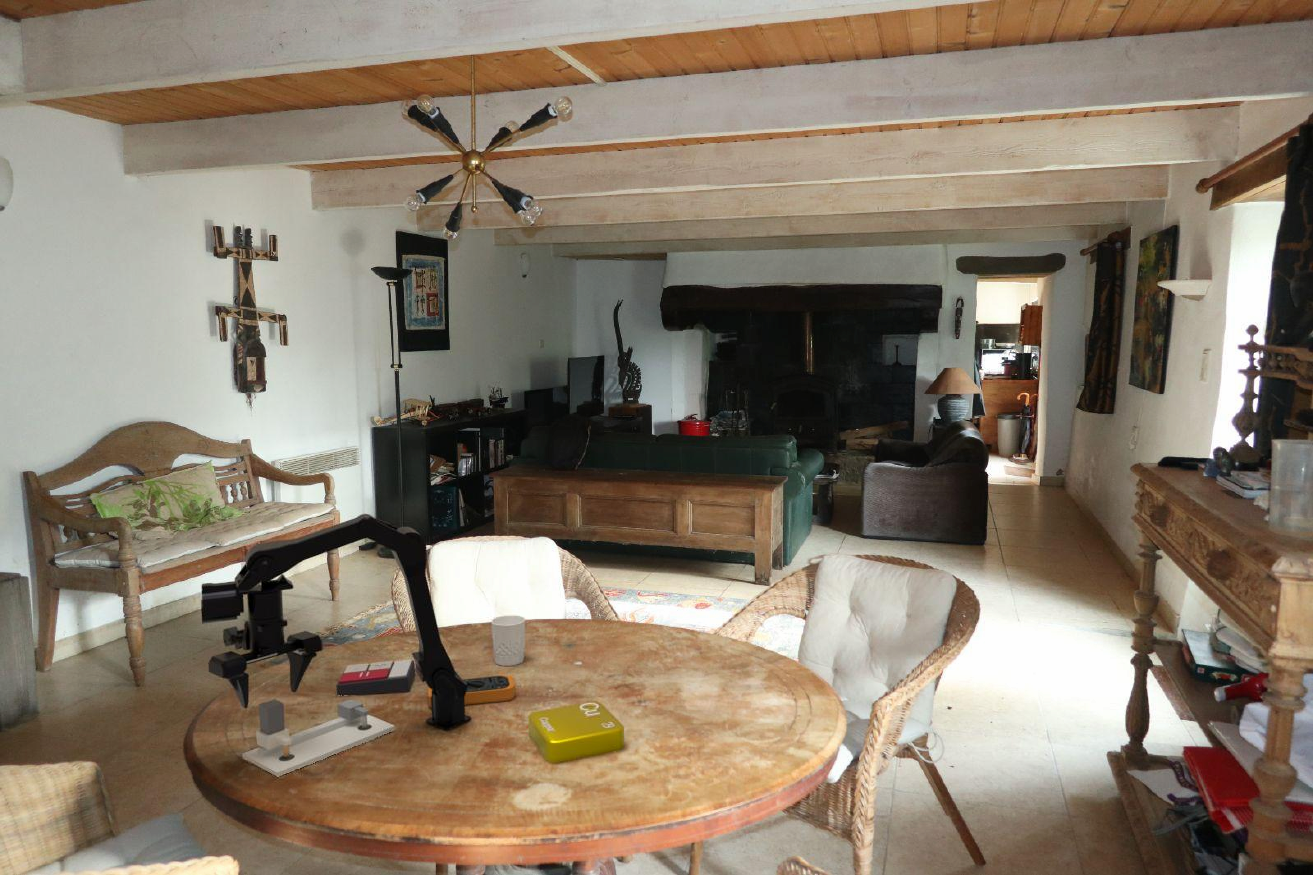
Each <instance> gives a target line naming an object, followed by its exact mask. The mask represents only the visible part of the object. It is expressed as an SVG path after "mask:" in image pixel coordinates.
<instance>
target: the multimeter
mask: <svg viewBox="0 0 1313 875" xmlns="http://www.w3.org/2000/svg"><path fill="white" fill-rule="evenodd" d="M462 680H463V681H464V682H465V683H466V685H467V686H468V688H467V691H466V694H465V696H464V697H465V706H470V705H477V704H478V705H479V704H486V703H487V704H488V703H499V702H508V701H512V699H514V698H515V696H516V693H517V692H516V690H517V689H516V683H515V679H514V677H513V676H512V675H508V674H497V675H491V676H480V677H471V678H462ZM426 685H427V684H426ZM426 688H427V704H428V707H429V708H430V709H431V696H432V691H431V690H432V689H430V688H429V687H428V685H427V687H426Z"/></svg>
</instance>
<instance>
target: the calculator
mask: <svg viewBox="0 0 1313 875" xmlns="http://www.w3.org/2000/svg"><path fill="white" fill-rule="evenodd" d="M415 668H416V664H415V660H414V659H413V660H412V659H403V660H395V661H394V662H393V660H385V661H377V662H371V663H359V664H358V663H357V664H350V665H347V667H346V668H345V669H344V671H343V672H342V674H341V675H340V677H339V679H338V681H337V683H336V696H337V695H340V697H345V696H344V695H356V696H369V695H378V694H386V693H387V694H401V693H410V692H411V688H412V686H413V683H414V680H415V677H416V671H415ZM341 695H342V696H341Z"/></svg>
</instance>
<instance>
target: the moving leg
mask: <svg viewBox="0 0 1313 875" xmlns="http://www.w3.org/2000/svg"><path fill="white" fill-rule="evenodd" d="M258 712H259V714H258V716H259V730H256V731H255V736H256V744H257V745H258V746H259V747H264V748H266V749H268V750H270V749H272V748H275V747H278V746H280V745H283V752H284V757H288V756H290V749H289V745H290V744H292V739H290V738H289V736H290V729H289V728H286V727H285V708H284V702H283V701H280V700H277V699H275V698H274V699H271V700H268V701H265V702H262V703H259V704H258Z"/></svg>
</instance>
